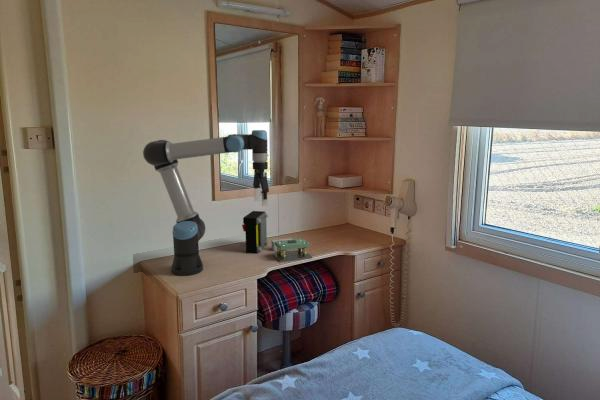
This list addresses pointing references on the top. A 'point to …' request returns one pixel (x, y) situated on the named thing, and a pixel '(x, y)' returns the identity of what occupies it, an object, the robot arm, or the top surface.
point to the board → (291, 244)
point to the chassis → (291, 254)
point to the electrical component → (255, 231)
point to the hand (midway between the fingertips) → (260, 203)
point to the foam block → (275, 245)
